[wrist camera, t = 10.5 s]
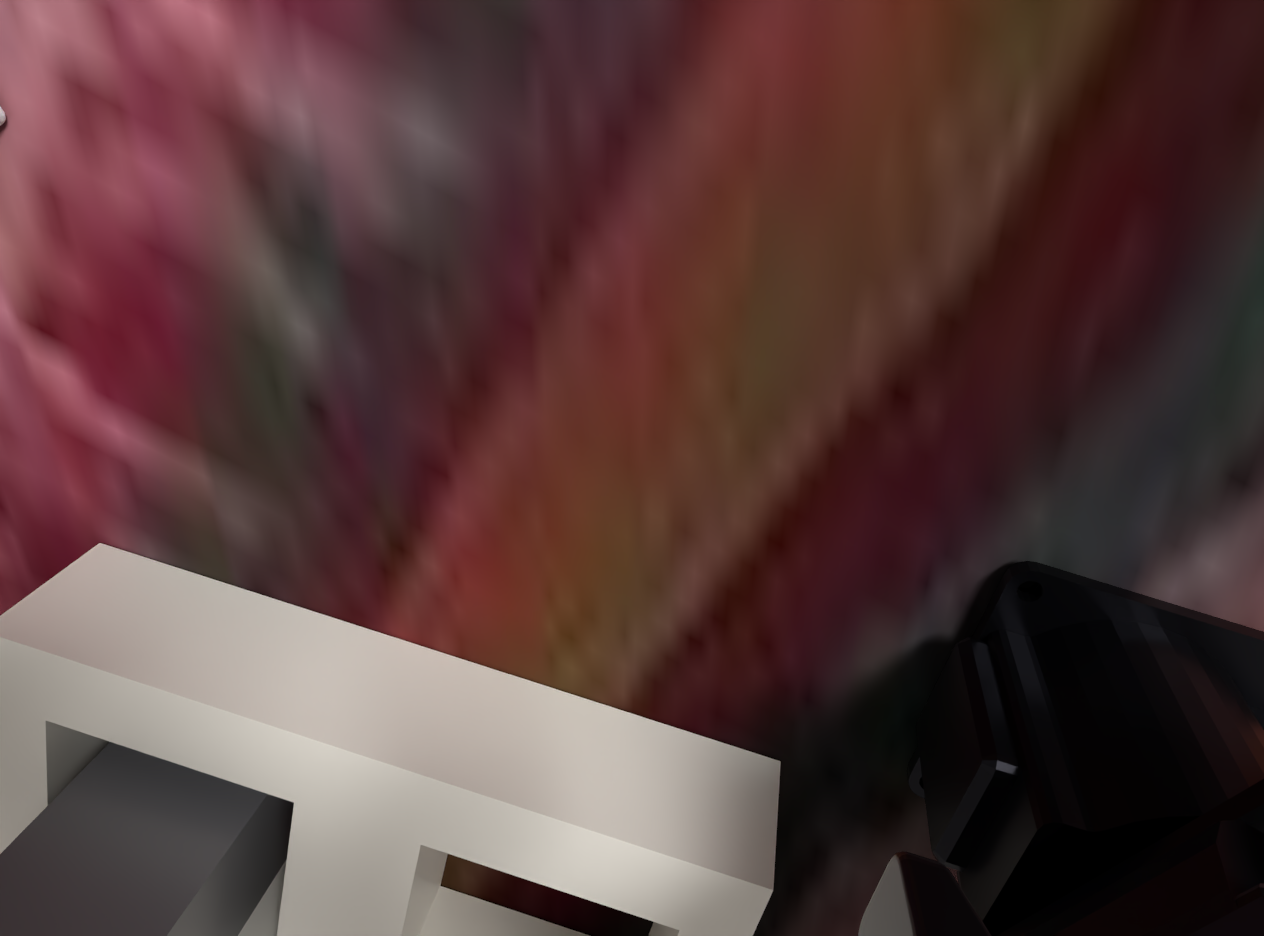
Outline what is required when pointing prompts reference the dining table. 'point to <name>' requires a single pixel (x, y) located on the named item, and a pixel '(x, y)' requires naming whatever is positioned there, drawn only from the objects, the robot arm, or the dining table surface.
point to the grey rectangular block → (143, 853)
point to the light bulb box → (2, 116)
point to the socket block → (380, 760)
